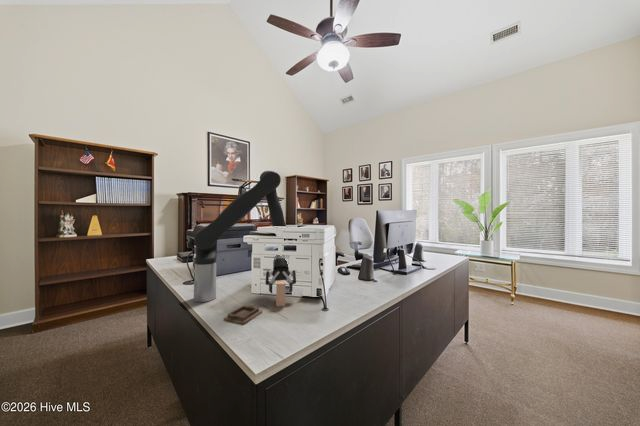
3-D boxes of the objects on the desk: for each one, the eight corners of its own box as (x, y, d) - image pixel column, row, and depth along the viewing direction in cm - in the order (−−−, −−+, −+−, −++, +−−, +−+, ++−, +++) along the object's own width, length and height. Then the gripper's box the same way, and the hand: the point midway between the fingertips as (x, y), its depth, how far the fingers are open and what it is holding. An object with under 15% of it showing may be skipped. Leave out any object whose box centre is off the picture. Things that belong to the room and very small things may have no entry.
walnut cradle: (223, 320, 92) (223, 313, 92) (243, 308, 103) (243, 302, 103) (244, 324, 89) (244, 317, 89) (262, 312, 100) (262, 305, 100)
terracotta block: (276, 306, 106) (276, 284, 106) (276, 301, 112) (276, 280, 112) (285, 306, 107) (285, 283, 107) (284, 300, 113) (285, 279, 113)
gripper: (266, 257, 117) (264, 288, 106) (295, 257, 119) (297, 287, 108) (266, 266, 122) (265, 296, 111) (294, 265, 125) (296, 295, 113)
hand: (280, 292), depth 110 cm, fingers open, 8 cm apart
